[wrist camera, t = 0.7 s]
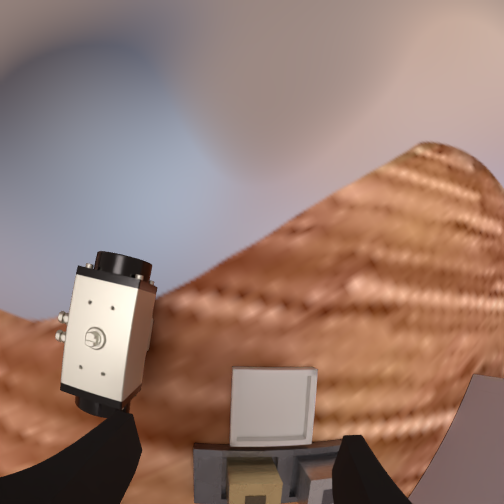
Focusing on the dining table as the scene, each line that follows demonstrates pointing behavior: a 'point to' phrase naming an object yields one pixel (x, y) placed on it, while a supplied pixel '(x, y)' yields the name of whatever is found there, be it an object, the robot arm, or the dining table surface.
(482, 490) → the game console
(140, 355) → the pneumatic valve
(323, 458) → the grey rectangular block
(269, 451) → the rail
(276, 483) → the tan rectangular block
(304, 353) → the dining table surface
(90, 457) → the robot arm
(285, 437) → the tray
